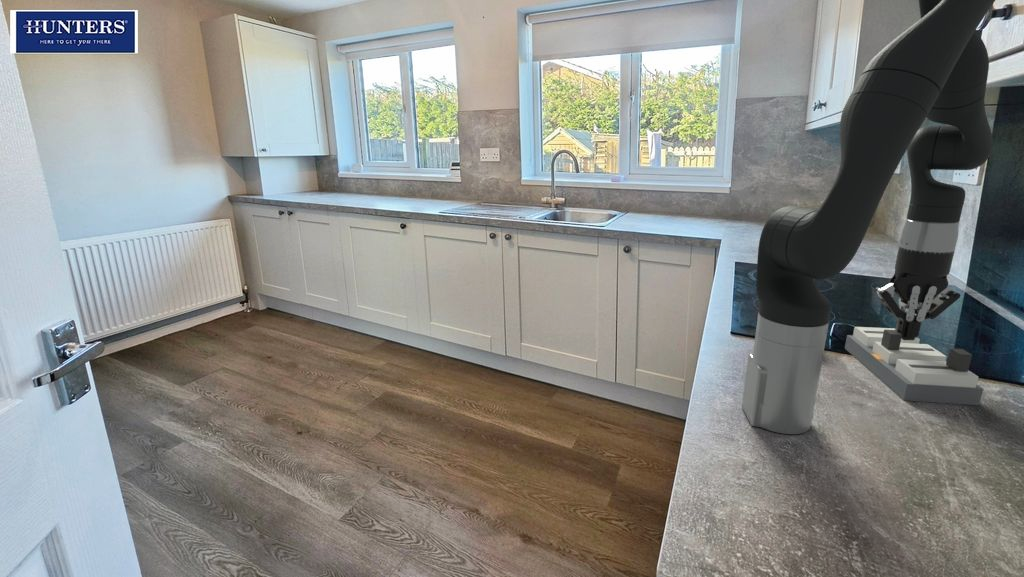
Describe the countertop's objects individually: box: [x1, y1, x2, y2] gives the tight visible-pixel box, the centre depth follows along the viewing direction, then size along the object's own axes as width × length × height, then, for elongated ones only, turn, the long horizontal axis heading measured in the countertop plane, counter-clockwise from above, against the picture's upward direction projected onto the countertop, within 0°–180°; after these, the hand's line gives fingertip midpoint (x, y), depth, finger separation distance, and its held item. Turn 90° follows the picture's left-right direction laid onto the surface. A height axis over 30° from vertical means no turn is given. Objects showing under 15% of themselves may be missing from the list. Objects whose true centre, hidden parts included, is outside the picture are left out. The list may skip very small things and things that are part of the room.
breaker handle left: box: [894, 317, 899, 331], centre depth 97 cm, size 2×2×3 cm
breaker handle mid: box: [881, 330, 902, 350], centre depth 91 cm, size 2×2×3 cm
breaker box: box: [844, 326, 984, 406], centre depth 92 cm, size 11×22×5 cm, turn 169°
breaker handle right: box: [946, 348, 973, 372], centre depth 82 cm, size 2×2×3 cm
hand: (906, 338), depth 91 cm, fingers closed
